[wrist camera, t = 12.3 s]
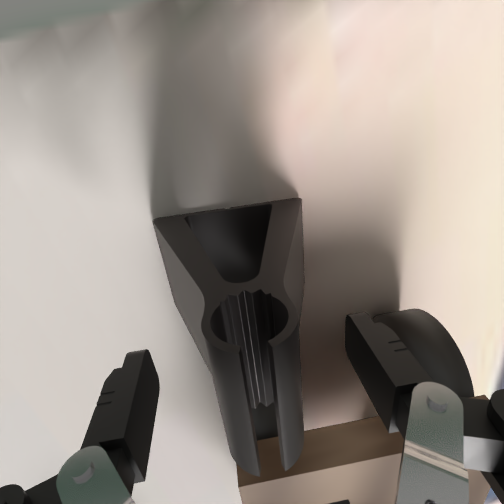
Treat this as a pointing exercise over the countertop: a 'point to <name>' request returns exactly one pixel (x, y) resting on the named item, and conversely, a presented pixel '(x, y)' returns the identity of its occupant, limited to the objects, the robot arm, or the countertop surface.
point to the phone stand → (244, 313)
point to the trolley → (357, 436)
